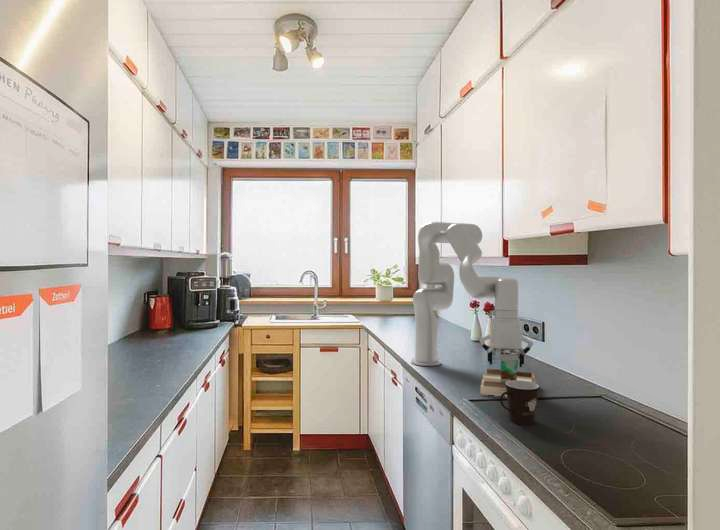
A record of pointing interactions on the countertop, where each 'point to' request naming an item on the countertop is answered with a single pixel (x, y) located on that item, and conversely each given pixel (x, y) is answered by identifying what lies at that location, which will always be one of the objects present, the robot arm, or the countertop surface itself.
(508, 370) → the food container
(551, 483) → the countertop surface
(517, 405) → the coffee mug
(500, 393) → the dock
